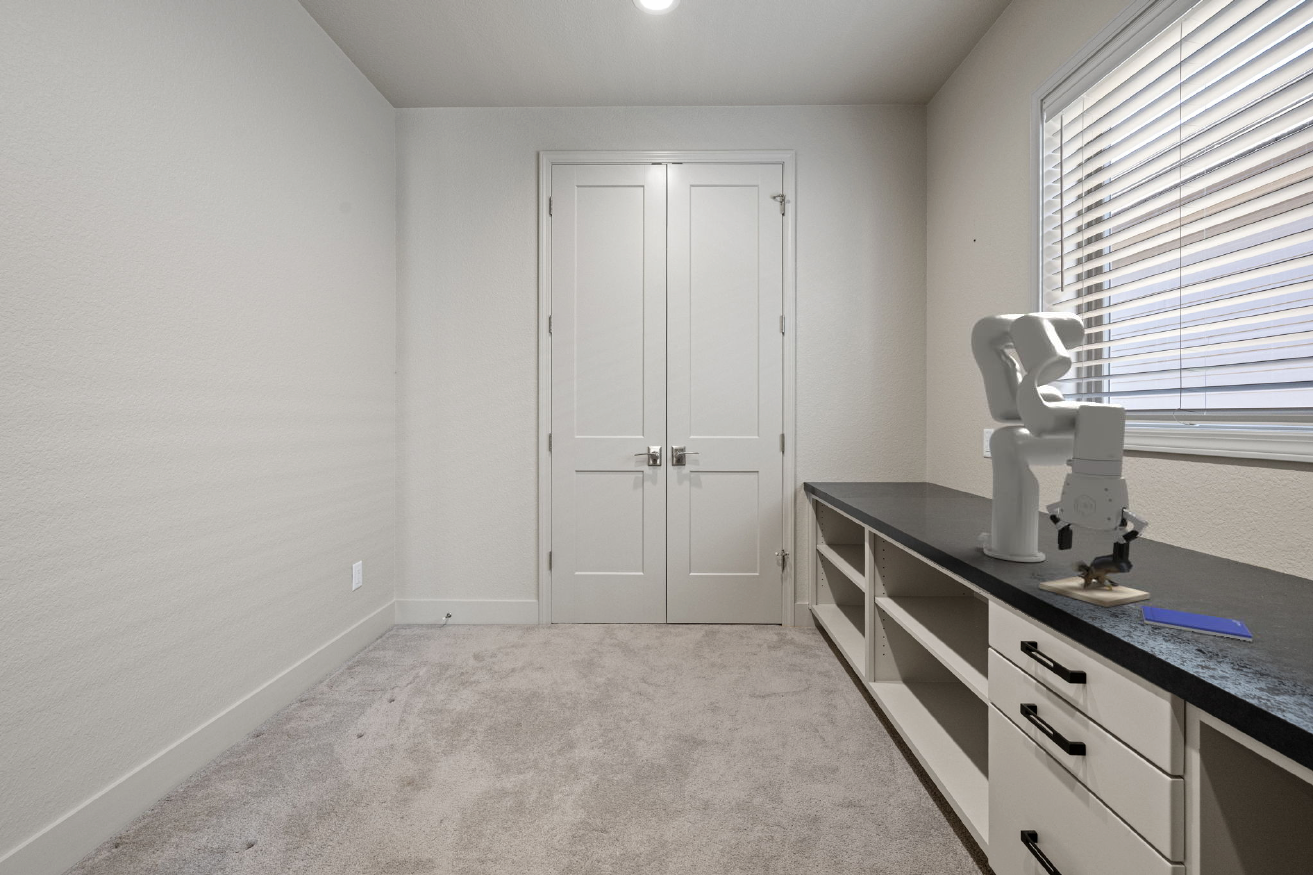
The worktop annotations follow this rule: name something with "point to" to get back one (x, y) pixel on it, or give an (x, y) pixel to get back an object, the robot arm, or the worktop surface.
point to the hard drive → (1196, 623)
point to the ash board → (1094, 591)
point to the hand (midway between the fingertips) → (1091, 555)
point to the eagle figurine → (1100, 570)
